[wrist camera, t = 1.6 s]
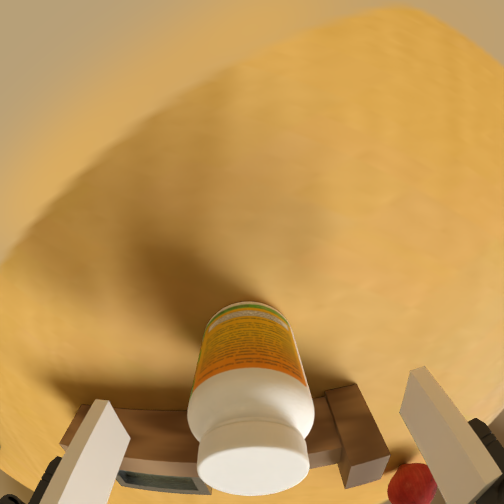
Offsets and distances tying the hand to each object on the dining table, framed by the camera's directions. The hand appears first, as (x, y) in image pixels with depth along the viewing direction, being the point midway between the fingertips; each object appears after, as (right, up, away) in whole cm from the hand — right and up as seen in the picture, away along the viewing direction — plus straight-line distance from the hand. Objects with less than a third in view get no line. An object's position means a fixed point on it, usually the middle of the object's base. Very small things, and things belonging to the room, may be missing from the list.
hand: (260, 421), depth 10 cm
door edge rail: (-4, -6, +8) cm, 11 cm away
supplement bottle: (-1, +2, +7) cm, 7 cm away
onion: (+17, -17, +12) cm, 27 cm away
